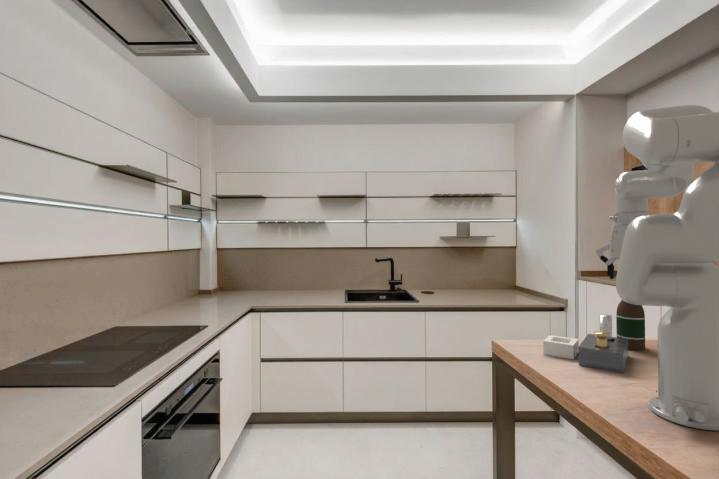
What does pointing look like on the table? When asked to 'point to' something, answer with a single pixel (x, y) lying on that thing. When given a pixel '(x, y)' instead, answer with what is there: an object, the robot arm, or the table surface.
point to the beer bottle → (631, 325)
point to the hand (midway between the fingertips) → (632, 279)
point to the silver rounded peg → (606, 325)
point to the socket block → (604, 354)
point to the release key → (601, 339)
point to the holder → (561, 347)
